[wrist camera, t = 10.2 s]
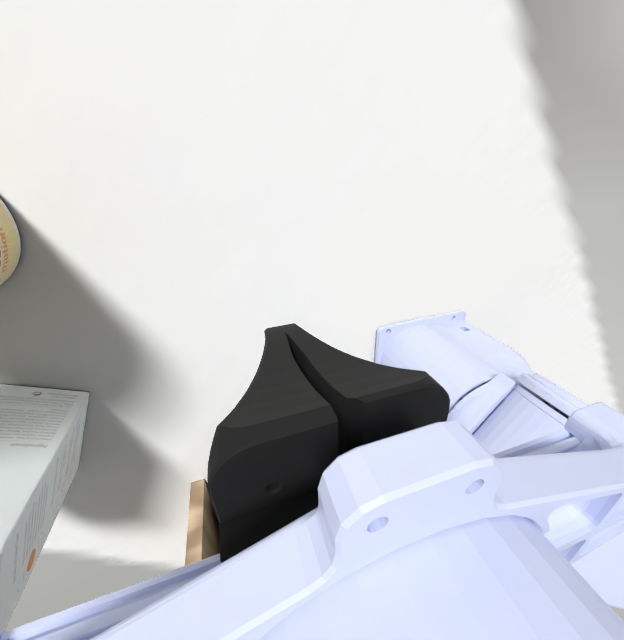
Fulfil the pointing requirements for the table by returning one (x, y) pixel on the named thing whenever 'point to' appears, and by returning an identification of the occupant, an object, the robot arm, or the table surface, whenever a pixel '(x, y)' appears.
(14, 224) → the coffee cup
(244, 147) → the table surface
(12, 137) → the table surface
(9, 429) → the small box
